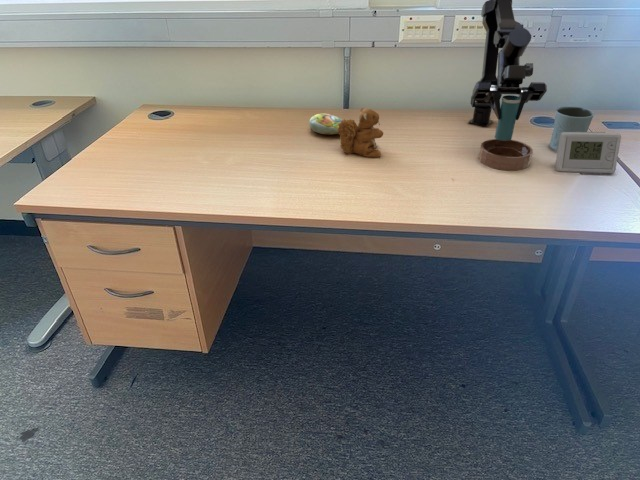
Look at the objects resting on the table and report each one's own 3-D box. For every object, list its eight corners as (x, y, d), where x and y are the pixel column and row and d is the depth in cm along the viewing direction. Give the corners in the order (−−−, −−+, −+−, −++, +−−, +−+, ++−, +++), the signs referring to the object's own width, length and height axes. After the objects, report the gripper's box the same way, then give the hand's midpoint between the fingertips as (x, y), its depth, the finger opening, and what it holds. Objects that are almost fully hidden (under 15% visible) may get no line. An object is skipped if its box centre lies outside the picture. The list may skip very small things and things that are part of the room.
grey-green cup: (586, 148, 142) (598, 110, 136) (575, 158, 136) (587, 119, 130) (553, 140, 148) (563, 103, 141) (541, 150, 142) (551, 112, 135)
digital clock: (552, 173, 129) (562, 137, 123) (549, 160, 136) (558, 125, 130) (616, 180, 124) (630, 143, 118) (610, 166, 131) (623, 130, 126)
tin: (498, 133, 134) (506, 94, 128) (514, 137, 132) (523, 97, 125) (491, 138, 131) (499, 98, 125) (507, 142, 129) (517, 101, 122)
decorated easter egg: (329, 114, 166) (351, 110, 153) (329, 136, 167) (351, 134, 154) (302, 113, 161) (322, 108, 148) (302, 136, 162) (322, 133, 149)
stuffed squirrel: (382, 157, 140) (385, 115, 132) (336, 157, 140) (336, 115, 133) (381, 145, 148) (383, 104, 140) (337, 145, 149) (337, 104, 141)
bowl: (488, 148, 144) (491, 135, 141) (535, 159, 136) (539, 145, 134) (470, 164, 134) (473, 150, 132) (519, 176, 127) (523, 162, 125)
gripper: (481, 51, 123) (480, 104, 120) (554, 51, 121) (555, 106, 118) (472, 73, 134) (471, 123, 131) (539, 74, 132) (539, 125, 129)
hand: (508, 119), depth 127 cm, fingers closed on tin, 4 cm apart
